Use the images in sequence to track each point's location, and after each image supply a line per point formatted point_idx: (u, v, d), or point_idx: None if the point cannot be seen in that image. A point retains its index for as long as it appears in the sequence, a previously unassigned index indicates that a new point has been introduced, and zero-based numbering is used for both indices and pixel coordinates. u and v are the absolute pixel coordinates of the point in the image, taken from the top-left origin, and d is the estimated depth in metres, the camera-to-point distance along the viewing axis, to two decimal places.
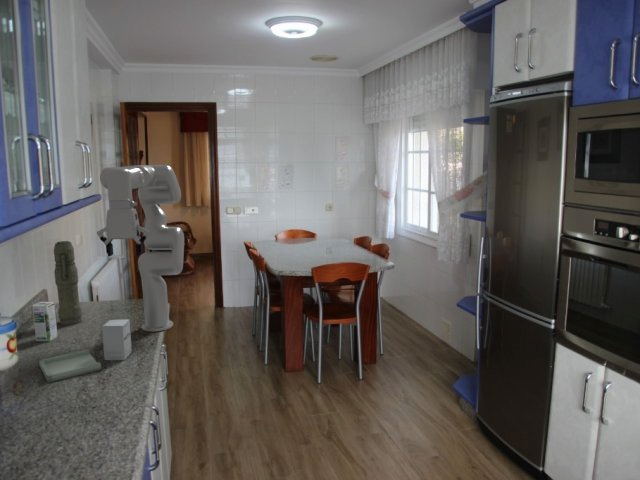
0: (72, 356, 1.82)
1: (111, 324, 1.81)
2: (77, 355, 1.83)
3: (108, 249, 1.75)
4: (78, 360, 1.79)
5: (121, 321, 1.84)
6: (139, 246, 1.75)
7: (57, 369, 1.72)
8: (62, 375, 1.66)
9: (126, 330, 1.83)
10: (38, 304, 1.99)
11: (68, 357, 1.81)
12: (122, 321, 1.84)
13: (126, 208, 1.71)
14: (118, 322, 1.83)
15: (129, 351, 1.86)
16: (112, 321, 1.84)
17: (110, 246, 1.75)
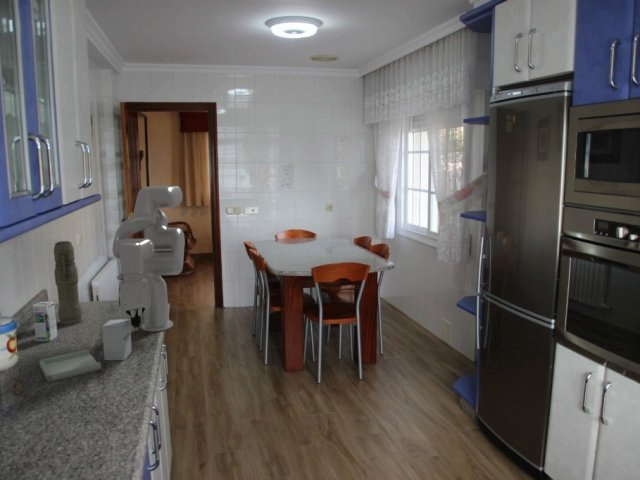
0: (72, 356, 1.82)
1: (111, 324, 1.81)
2: (77, 355, 1.83)
3: None
4: (78, 360, 1.79)
5: (121, 321, 1.84)
6: None
7: (57, 369, 1.72)
8: (62, 375, 1.66)
9: (126, 330, 1.83)
10: (38, 304, 1.99)
11: (68, 357, 1.81)
12: (122, 321, 1.84)
13: None
14: (118, 322, 1.83)
15: (129, 351, 1.86)
16: (112, 321, 1.84)
17: None
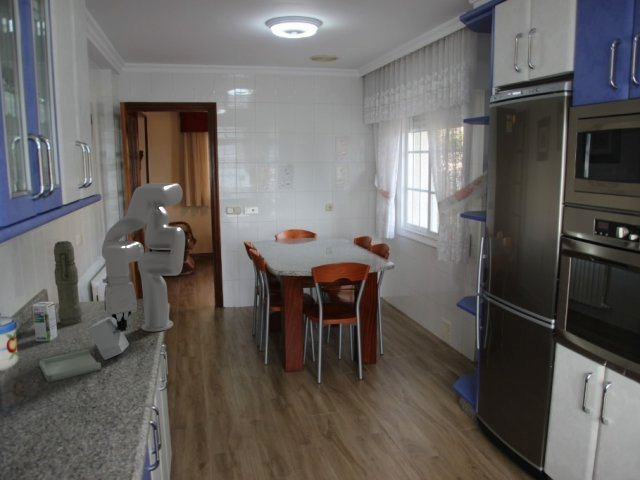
0: (72, 356, 1.82)
1: (95, 324, 1.81)
2: (77, 355, 1.83)
3: None
4: (78, 360, 1.79)
5: (105, 318, 1.83)
6: None
7: (57, 369, 1.72)
8: (62, 375, 1.66)
9: (113, 325, 1.82)
10: (38, 304, 1.99)
11: (68, 357, 1.81)
12: (106, 318, 1.83)
13: None
14: (102, 320, 1.83)
15: (125, 344, 1.85)
16: (97, 322, 1.84)
17: None
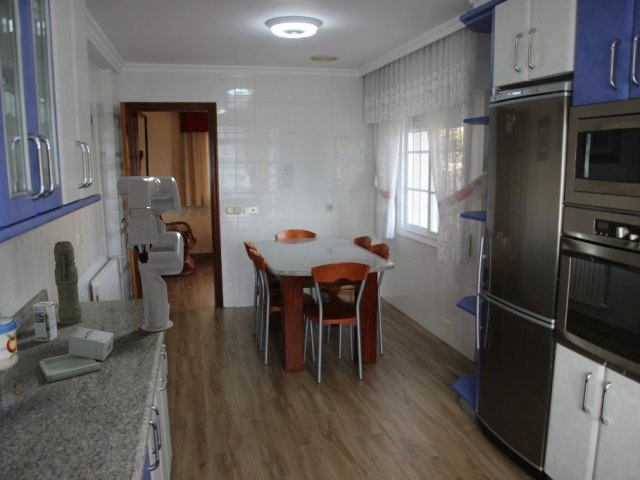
0: (72, 356, 1.82)
1: None
2: None
3: None
4: (78, 360, 1.79)
5: None
6: None
7: (57, 369, 1.72)
8: (62, 375, 1.66)
9: (82, 333, 1.81)
10: (38, 304, 1.99)
11: (68, 357, 1.81)
12: None
13: None
14: None
15: (107, 335, 1.83)
16: None
17: None
